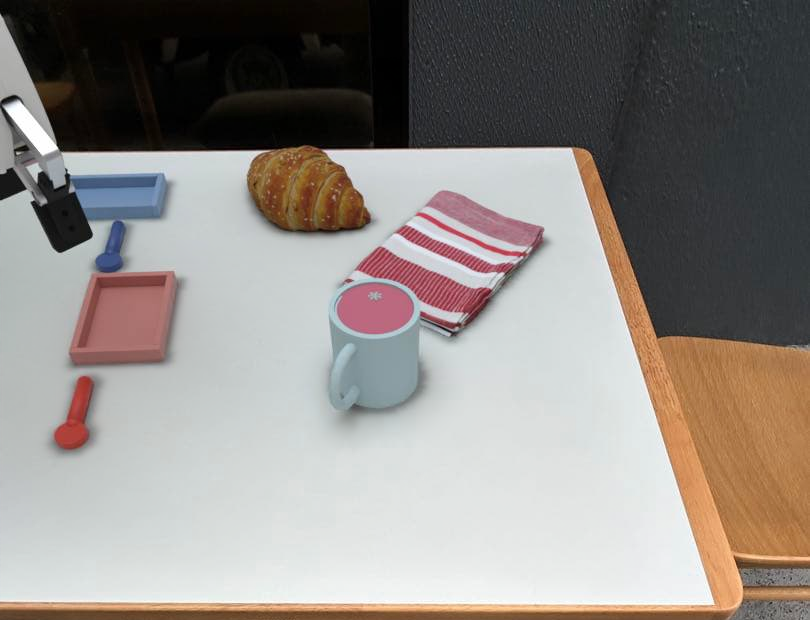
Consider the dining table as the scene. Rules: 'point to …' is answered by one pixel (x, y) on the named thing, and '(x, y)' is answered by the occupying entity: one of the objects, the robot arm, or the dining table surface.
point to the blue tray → (120, 195)
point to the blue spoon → (112, 250)
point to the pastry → (305, 190)
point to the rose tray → (125, 318)
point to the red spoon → (76, 417)
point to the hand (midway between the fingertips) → (42, 217)
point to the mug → (373, 343)
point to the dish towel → (452, 258)
